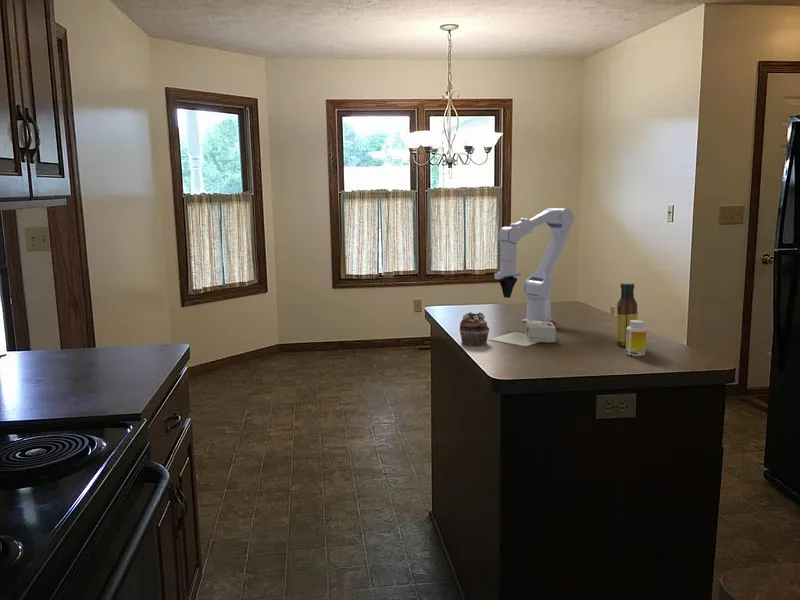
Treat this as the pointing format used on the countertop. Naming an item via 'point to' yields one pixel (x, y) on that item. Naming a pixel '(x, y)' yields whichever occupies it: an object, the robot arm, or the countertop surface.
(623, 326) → the sauce bottle
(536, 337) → the ink box
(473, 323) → the cupcake
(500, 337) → the mat
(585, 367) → the countertop surface
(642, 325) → the supplement bottle
